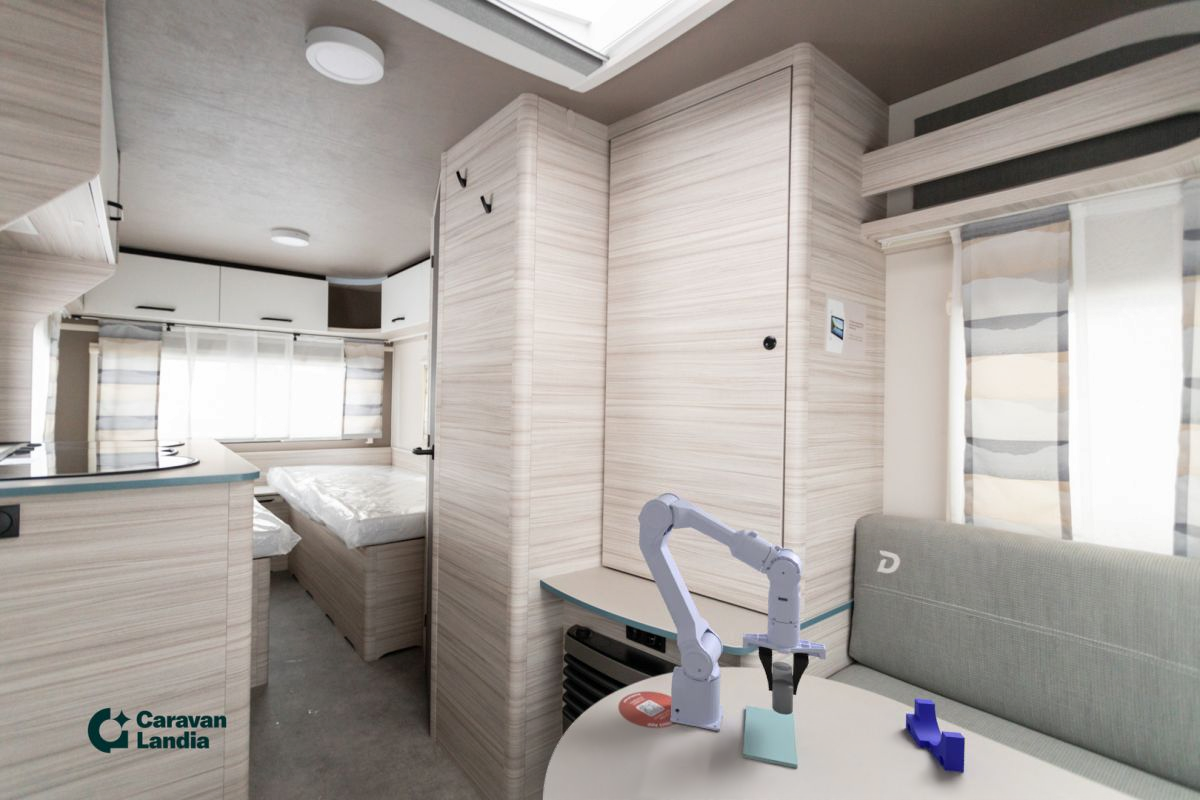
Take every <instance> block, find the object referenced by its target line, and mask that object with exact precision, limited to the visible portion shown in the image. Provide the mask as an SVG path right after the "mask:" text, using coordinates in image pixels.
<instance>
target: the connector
mask: <svg viewBox="0 0 1200 800" xmlns="http://www.w3.org/2000/svg"><path fill="white" fill-rule="evenodd" d="M772 680H773V687H772V691H771V702H772V703H771V708H772V710H774V711H776V712H777V713H780V714H785V715H787V714H791V713H792V714H793V713H794V712H793V710H794V695H793V666H792V665H791V664H789V663H788V662H785V661H784V662H783V661H775V662H772Z"/></svg>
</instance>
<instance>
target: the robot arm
mask: <svg viewBox="0 0 1200 800" xmlns="http://www.w3.org/2000/svg"><path fill="white" fill-rule="evenodd" d="M637 520H638V523H639V537H638V539H639V540H638V546H639V548H640V551H641V554H642V556H643V559H644V560H645V562H646V564H647V566H648V569H649V571H650V574H651V575H652V578H653V580H654V582H655V584H656V586H657V588H658V592H659V593H660V595H661V597H662V599H663V601H664V604H665V605H666V608H667V610H668V612H669V616H670V617H671V619H672V621H673V623H674V627H676V630H677V631H676V634H677V638H676V644H677V647H678V650H679V652H680V665H681V666H674V668H673V672H672V676H671V689H670V690H671V692H670V693H671V696H670V697H671V698H670V719H669V721H670V722H671V723H675V724H682V725H687V726H692V727H697V728H703V729H705V730H706V729H707V730H712V731H717V732H718V731H720V730H721V726H722V719H723V711H724V708H723V706H721V675H722V674H721V672H722V671H721V668H720V666H719V662H718V659H720V657H721V656H722V654H723V650H724V644H723V641H722V639H721V637H720V636H719V635H718V633H716V631H714V630H713V629H712V627H710V623H709V622H708V621H707V620H706V619H704V618H703V617H701V615H700V613H699V611H698V608H697V606H696V604H695V602H694V600H693V598H692V595H691V593H690V591H689V589H688V588H687V585H686V583H685V580H684V579H683V576H682V574H681V572H680V571H679V568H678V566H677V564H676V562H675V561H676V560H674V557H673V555H672V553H671V551H670V548H669V547H668V541H669V538H670V535H671V533H672V531H673V530H677V529H687V528H691V529H694V530H695V531H697V532H699V533H702V534H704V535H706V536H707V537H710V538H712V539H713V540H716V541H717V542H718V543H720V544H723V545H725V546H727V547H728V548H729V551H730V553H731V556H732V557H734V558H735V559H737V560H739V561H740V562H742V563H744V564H746V565H748V566H749V567H750V568H753V569H754V570H756V571H757V572H760V573H761V574H764V575H766V577H767V579H768V581H769V589H768V592H767V593H768V594H767V595H768V605H767V633H742V634H743V635H742V648H744V649H749V648H755V649H758V657H759V660H760V662H761V665H762V667H763V670H764V672H765V676H766V680H767V686H768V691H769V692H772V687H773V680H772V666H773V651H775V652H777V653H778V654H784V655H790V654H792V661H793V662H792V676H793V696H796V695H797V691H798V686H799V684H800V680H801V678H802V677H803V674H804V673H805V671H806V670H807V668H808V667H809V663H810V661H809V656H810V657H815V658H818V659H819V660H826V658H827V657H826V655H827V654H826V653H827V649H826V645H825V644H823V643H816V642H813V641H809V640H805V639H803V638H801V611H802V610H801V607H802V605H801V604H802V595H801V590H802V589H801V587H802V586H801V578H802V576H801V575H802V572H803V562H802V559H801V558H800V555H798V554H797V553H796V552H794V551H793V549H791V548H787V547H783V546H781V544H778V543H777V544H773V543H771V542H770V541H768V540H766V539H765V538H763V537H761V536H759V532H758V531H756V530H754V529H752V530H751V531H749V530H748V529H742V530H735V529H734V528H732V527H730V526H729V525H727V524H725V523H724V522H722V520H721V521H720V520H719V519H718V518H716V517H714V516H712V515H711V514H709V513H707V512H706V511H705V510H703V509H701V508H700V507H698V506H697V505H695V504H693V503H692V502H691V501H689V500H688V499H686V498H684V497H683V498H682V497H680V496H678V495H677V494H675V493H673V492H666V493H663V494H660V495H659V496H658V497H655V498H653V499H650V500H648V501H647V502H645V504H644V505H643V507H642V508H641V511H640V512H639V514H638V517H637Z"/></svg>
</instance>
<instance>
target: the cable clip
mask: <svg viewBox="0 0 1200 800" xmlns="http://www.w3.org/2000/svg"><path fill="white" fill-rule="evenodd" d="M905 729H906V731H907V732H908V733H909V735H910V736H911V738H912V739H913V740H914V741H915V743H916V745H917V746H918V747H919V748H920V749H921V748H922V749H928V750H929V751H930V752H931V754H932V755H933V756H934V757H935V759H936V760H937V762H938V763H939V764H940V765H941V767H942V769H944V771H946V772H947V771H948V772H949V771H950V772H955V773H956V772H958V773H964V772H965V747H966V746H965V744H966V743H965V742H966V741H965V740H966V737H964V735H962V733H961V732H955V731H945V730H944V731H943V730H942V731H941V729H940V728H939V724H938V719H937V715H936V704H935V703H934V702H933V700H932V699H922V698H914V713H905Z"/></svg>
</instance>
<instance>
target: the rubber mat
mask: <svg viewBox="0 0 1200 800" xmlns="http://www.w3.org/2000/svg"><path fill="white" fill-rule="evenodd" d="M745 707H746V709H745V723H744V724H745V725H744V737H743V739H744V740H743V750H742V754H743V755H742V758H745V759H749V760H755V761H759V762H760V761H761V762H766V763H770V764H774V765H781V766H785V767H790V768H795V769H798V765H799V764H798V755H797V754H798V753H797V743H796V742H797V740H796V730H795V719H794V717H795V715H794V713H793V712H792V713H791V714H787V715H785V714H780V713H777V712H776V711H774V710H773V709H769V708H763V707H757V706H751V705H746V706H745Z"/></svg>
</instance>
